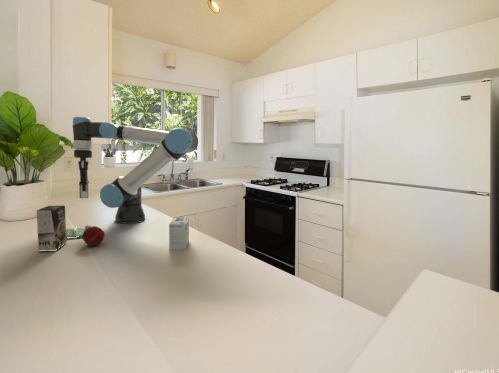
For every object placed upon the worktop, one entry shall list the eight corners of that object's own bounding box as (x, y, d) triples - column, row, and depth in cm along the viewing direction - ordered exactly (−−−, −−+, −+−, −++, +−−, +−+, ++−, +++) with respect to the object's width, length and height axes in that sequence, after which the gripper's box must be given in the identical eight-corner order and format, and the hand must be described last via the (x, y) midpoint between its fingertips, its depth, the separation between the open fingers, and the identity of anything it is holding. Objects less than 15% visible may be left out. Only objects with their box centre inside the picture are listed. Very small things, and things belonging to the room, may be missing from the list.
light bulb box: (173, 241, 122) (173, 217, 120) (189, 241, 122) (189, 217, 121) (168, 250, 111) (168, 223, 110) (185, 250, 112) (185, 224, 110)
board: (97, 229, 135) (96, 222, 134) (96, 236, 124) (96, 229, 124) (57, 232, 127) (56, 226, 127) (53, 240, 117) (52, 233, 116)
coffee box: (57, 251, 105) (55, 210, 103) (38, 252, 104) (35, 210, 102) (67, 243, 114) (65, 205, 112) (50, 244, 113) (47, 205, 110)
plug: (88, 196, 141) (88, 179, 140) (88, 198, 138) (87, 180, 137) (80, 197, 140) (79, 179, 139) (79, 198, 137) (79, 180, 136)
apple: (99, 248, 110) (98, 229, 109) (78, 248, 109) (77, 228, 108) (107, 242, 117) (106, 224, 116) (88, 242, 116) (87, 223, 115)
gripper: (75, 149, 142) (77, 194, 145) (72, 149, 127) (74, 200, 130) (92, 149, 145) (93, 193, 148) (90, 150, 130) (92, 199, 133)
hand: (84, 196), depth 139 cm, fingers closed on plug, 4 cm apart
